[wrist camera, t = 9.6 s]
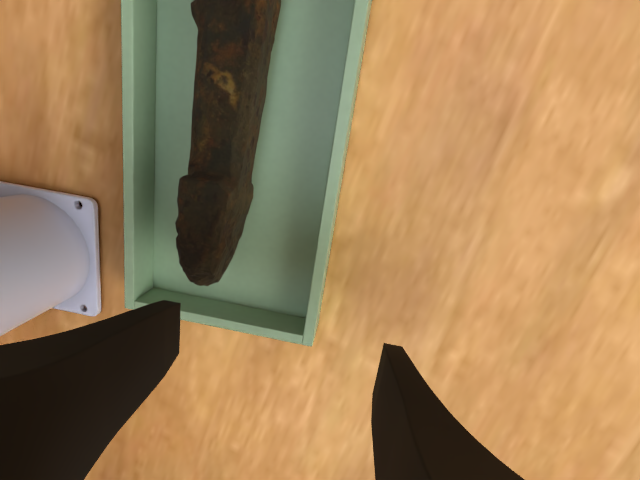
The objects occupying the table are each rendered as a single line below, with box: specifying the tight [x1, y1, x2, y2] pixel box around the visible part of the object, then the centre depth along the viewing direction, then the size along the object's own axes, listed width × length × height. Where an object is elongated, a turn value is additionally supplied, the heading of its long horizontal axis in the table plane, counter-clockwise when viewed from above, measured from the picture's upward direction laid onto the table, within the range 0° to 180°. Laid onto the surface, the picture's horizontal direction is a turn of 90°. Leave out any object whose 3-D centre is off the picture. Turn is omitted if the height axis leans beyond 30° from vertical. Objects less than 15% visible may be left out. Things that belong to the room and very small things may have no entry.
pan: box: [121, 0, 372, 346], centre depth 18 cm, size 11×23×2 cm, turn 171°
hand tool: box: [175, 0, 281, 286], centre depth 17 cm, size 19×4×5 cm, turn 167°
